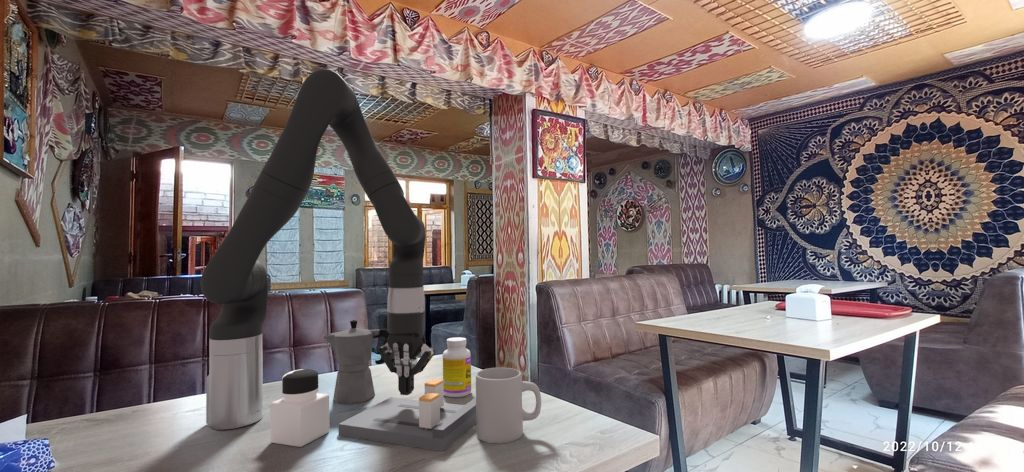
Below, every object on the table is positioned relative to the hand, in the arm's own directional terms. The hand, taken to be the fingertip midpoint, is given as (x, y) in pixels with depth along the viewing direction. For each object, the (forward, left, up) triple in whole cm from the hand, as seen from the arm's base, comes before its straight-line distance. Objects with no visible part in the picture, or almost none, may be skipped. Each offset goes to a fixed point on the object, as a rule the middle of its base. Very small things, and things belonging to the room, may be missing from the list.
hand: (406, 393), depth 91 cm
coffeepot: (-18, +7, -5) cm, 20 cm away
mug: (+23, -2, -5) cm, 24 cm away
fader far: (+7, 0, -2) cm, 7 cm away
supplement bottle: (+3, +16, -5) cm, 17 cm away
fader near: (+10, -8, -2) cm, 13 cm away
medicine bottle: (-13, -15, -5) cm, 20 cm away
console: (+4, -4, -5) cm, 7 cm away
